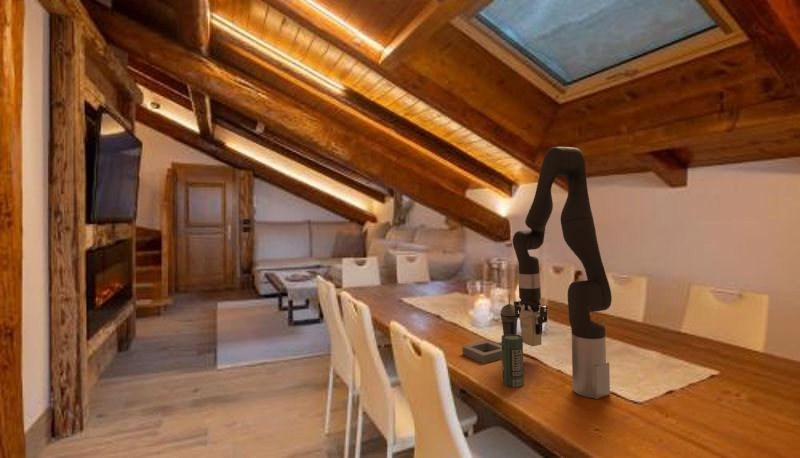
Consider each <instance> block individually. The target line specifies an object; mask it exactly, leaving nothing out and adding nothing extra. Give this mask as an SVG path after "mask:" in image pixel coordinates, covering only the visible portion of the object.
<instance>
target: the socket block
mask: <svg viewBox="0 0 800 458" xmlns="http://www.w3.org/2000/svg"><path fill="white" fill-rule="evenodd" d="M462 355H464V356H465V357H467V358H470V359H472V360H474V361H477V362H478V363H481V364H482V365H485V364H488V363H492V362H497V361H499V360H502V344H499V343H498V342H497V343H496V342H495V341H494V342H493V341H491V340H484V341H480V342H476V343H473V344H467V345H464V346H462Z"/></svg>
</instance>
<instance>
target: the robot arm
mask: <svg viewBox="0 0 800 458" xmlns="http://www.w3.org/2000/svg"><path fill="white" fill-rule="evenodd" d="M586 168H587V167H586V161H585V157H584V154H583V151H581V149H579V148H577V147H573V146H572V147H570V146H553V147H550V148H549V149H548V150H547V151H546V153H545V155H544V157H543V160H542V164H541V168H540V172H539V176H538V180H537V184H536V190H535V192H534V193H535V194H534V197H533V201H532V204H531V206H530V208H529V211H528V212H527V215H526V217H525V220H524V223H525V226H526V227H527V228H528V229H529V230H517V231H516V232H515V233H514V235H513V237H512V246H513V249H514V252H515V256H516V258H517V262H518V281H517V282H518V298H519V300H515V301H513V306H514V308H515V316H516V317H518V320H519V324H520V328H521V310H527V311H530V312H538V311H540V314H538V315H535V314H534V318H535V322H536V334H538V335H539V334H541V335H542V333H543V324H544V323H548V311H549V310H548V305H542V303H541V301H540V300H541V299H542V293H541V292H542V291H541V288H542V287H541V276H540V263H539V261H540V260H539V258H538V257H537V256H533V255H532V256H531V255H530V253H529V251H532V250H538V249H540V248H541V246H542V245H543V243H544V240H545V233H546V226H547V224H548V222H549V219H550V218H551V215H552V212H553V209H554V208H553V207H554V203H553V195H552V188H553V187H552V186H553V184H554V182H555V180H556V178H557V177H565V179H566V184H567V191H568V192H567V197H566V201H565V203H564V205H563V208H562V211H561V215H560V225H561V230H562V237H563V239H564V241H565V244H566V245H567V246H568V247H569V249H570V250H571V251H572V253H573V254H574V255H575V256H576V257H577V258H578V260H579V261H580V263H581V264H582V267H583V269H584V271H585V274H586V275H585V276H586V278H587V279H585V280H577V281H572V282H571V283H570V284H569V286H568V289H567V305H568V307H567V309H568V320H569V325H570V329H571V330H570V331H571V363H572V364H571V365H572V366H571V367H572V370H571V371H572V391H573V392H574V393H575V394H576V395H579V396H582V397H585V398H589V399H590V398H591V399H592V398H593V399H595V400H599V399H602V398H603V397H606V396H608V395H610V394H611V391H610V389H611V384H610V377H611V376H610V362H609V361H607V344H606V343H607V342H606V339H607V337H606V333H607V332H606V331H607V330H606V327H605V325H604V324H602V323H600V322H598V321H594V320H592V319H591V313H595V312H603V311H607V310H608V309H610V307H611V304H612V301H613V300H612V298H613V297H612V290H611V286H610V283H609V279H608V275H607V273H606V270H605V266H604V264H603V261H602V257H601V252H600V247H599V244H598V243H599V242H598V238H597V231H596V225H595V221H594V216H593V212H592V208H591V203H590V196H589V190H588V182H587V171H586V170H587V169H586ZM537 317H539V320H538V318H537Z"/></svg>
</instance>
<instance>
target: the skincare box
mask: <svg viewBox="0 0 800 458" xmlns="http://www.w3.org/2000/svg"><path fill="white" fill-rule="evenodd" d="M534 314H535V315H538V314H540V311H538V312H530V311H527V310H521V327H520V336H522V337H523V344H525V345H528V346H529V347H536V346H541V345H542V333H541V334H539V335H538V334H536V322H535V318H534ZM537 318H538V320H539V317H537Z"/></svg>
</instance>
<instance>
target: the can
mask: <svg viewBox="0 0 800 458" xmlns="http://www.w3.org/2000/svg"><path fill="white" fill-rule="evenodd" d="M500 337H501V345H502V359H501V365H502V371H501V372H502V384H503V385H504V386H505V387H508V388H514V387H515V388H516V389H517V388H521V387H523V386H524V384H525V383H524V382H525V380H524V379H525V377H524V374H525V372H524V343H523V337H522V336H521V334H505V335H504V334H503V335H501V336H500Z"/></svg>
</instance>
